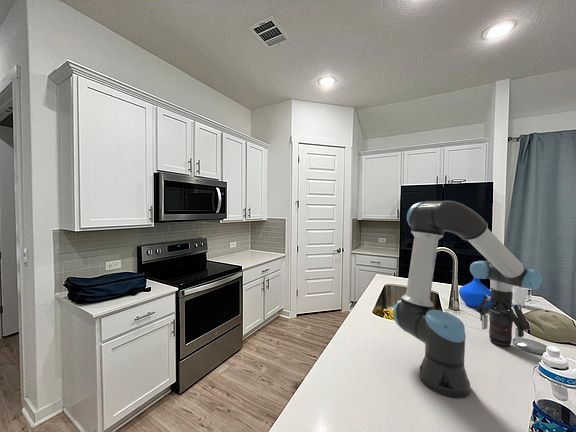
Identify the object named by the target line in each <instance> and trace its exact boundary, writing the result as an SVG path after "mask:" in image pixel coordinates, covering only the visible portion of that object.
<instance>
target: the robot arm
mask: <svg viewBox="0 0 576 432" xmlns="http://www.w3.org/2000/svg"><path fill="white" fill-rule="evenodd" d="M406 222H407V223H408V226H409V227H410V234H412V236H413V238H414V239H413V244H412V249H411V258H410V263H409V270H408V271H409V272H408V279H407V286H406V292H405V294H403V295H402V296H401V298H400V300H398V301H396V304H394V306H393V310H392V316H393V319H394V322H395V323H396V325H397V326H398V327H399V328H400V329H401V330H402V331H404V332H406V333H407V334H410V335H411V336H412V337H414V338H415V339H417V340H419V341H420V342H422V343H424V353H425V354H424V357H423V359H422V361H421V365H420V366H419V369H418V370H419V373H418V374H419V375H418V376H419V379H420V380H421V382H422V384H424V385H425V386H426V387H428V388H429V389H430V390H432V391H434V392H435V393H438V394H440V395H442V396H445V397H449V398H453V399H460V398H466V397H468V396H469V395H470V393H471V382H470V380H469V378H468V374H467V370H466V367H465V355H466V354H465V352H466V351H465V350H466V349H465V348H466V346H465V345H466V337H467V336H466V329H465V325H464V324H465V323H464V322H463V320H461V319H460V318H459V317H458V316H456V315H454V314H452V313H450V312H447V311H443V310H440V309H434V303H433V302H432V301H431V294H432V287H433V285H432V284H433V279H434V272H435V266H436V259H437V252H438V244H439V240H440V239H442V238H443V237H444V234H445V232H446V233H447V232H448V233H453V234H454V235H456V236H458V237H459V238H461V240H464V241H467V242H468V243H470V244H471V245H472V247H474V248H475V249H476V251H478V252H479V253H480V254H481V255H482V256H483V257H484V258H485V260H478V261H473V262H472V263H471V264H470V266H469V271H470V273H471V275H472V276H473V278H474V277H475V278H478V279H479V280H481V279H482V280H485V279H486V280H487V279H488V280H490V287H491V288H490V291H491V297H490V296H489V295H485V296H484V297H483V301H482V302H481V303H480V305H479V306H478V308H476V309H475V310H476V313H479V314H480V322H481V330H484V331H485V330H488V327H489V326H488V325H489V324H488V322H489V320H488V318H489V317H488V316H489V315H487V314H488V313H490V309H493V308H495V309H500V310H501V311H505V312H506V313H507V314H508V315H509V317H510V318H511V319H512V321H513V324H514V325H515V327H516V328H515V330H514V331H515V332H514V338H515V344H520V343H521V338H524V336H525V334H524V333H525V331H527V330H530V329H531V327H530V325H529V323H528V321H527V319H526V316H525V315H524V312H523V311H522V307H521V305H515V304H513V303H512V298H513V292H512V290H513V285H514V286H518V287H522V288H527V290H537V289H538V288H540V286H541V284H542V282H543V279H542V278H543V277H542V274H541V273H540V272H539V271H538V270H536V269H532V268H527V267H525V266H524V265H523V264H522V262H521V261H520V260H519V259H518V258H517V257H516V256H515V255H514V254H513V253H512V252H511V250H510V249H508V248H507V247H506V245H505V244H503V243H502V241H500V239H498V237H497V236H496V235H495V234H494V233H493V232H492V231H491V230H490V229H489V228H488V222H487V221H486V220H485V219H484V218H483V217H482V216H481V215H480V214H478V213H477V212H476V211H474V210H473V209H472V208H470V207H469V206H466V205H465V204H464V203H462V202H457V201H453V200H434V201H433V200H425V201H419V202H417V203H414V204H413V205H412V206H411V207H409V209H408V211H407V214H406ZM490 300H491V302H492V304H490V305H489V306H488V307H486V308H485V306H486V305H487V303H488V302H489V301H490Z"/></svg>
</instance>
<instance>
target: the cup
mask: <svg viewBox="0 0 576 432" xmlns="http://www.w3.org/2000/svg"><path fill="white" fill-rule="evenodd" d="M512 292H513V298H512V303H513V304H515V305H521V308H523V306H524V307H525V304H526V300H527V294H528V289H527V288H522V287H518V286H514V285H513V290H512Z"/></svg>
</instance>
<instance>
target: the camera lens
mask: <svg viewBox="0 0 576 432" xmlns="http://www.w3.org/2000/svg"><path fill="white" fill-rule="evenodd" d="M488 316H489V317H488V318H489V320H488V321H489V326H488V334H489V337H488V338H489V339H490V343H491V344H493V345H495V346H497V347H499V348H506V349H507V348H510V346H511V344H512V342H513V339H512V338H513V324H514V322H513V321H512V319H511V318H510V317H509V315H508V314H507V313H506V312H505V311H501V310H500V309H496V308H493V309H490V311H489V315H488Z"/></svg>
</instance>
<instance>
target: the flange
mask: <svg viewBox="0 0 576 432" xmlns="http://www.w3.org/2000/svg"><path fill="white" fill-rule="evenodd" d="M512 345H513V346H515V347H516V348H517V349H520V350H522V351H525V352H528V353H530V354H534V355H540V356H542V355H541V354H543V353H544V352H546V347H548V346H547V345H545V344H543V343H541V342H539V341H536V340H533V339H530V338H525V337H521V343H520V344H515V337H514V338H513V339H512Z"/></svg>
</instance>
